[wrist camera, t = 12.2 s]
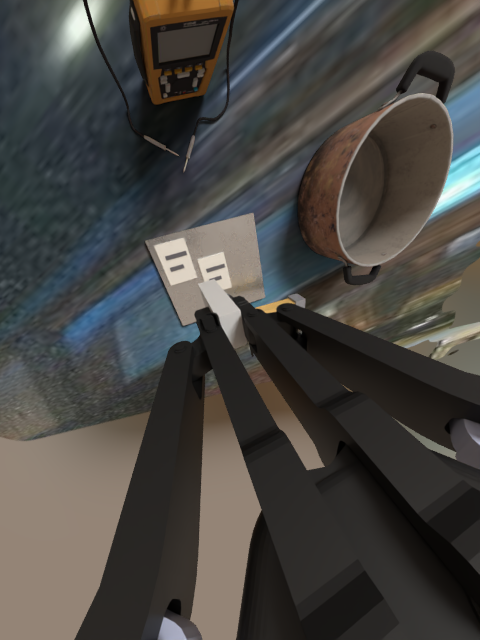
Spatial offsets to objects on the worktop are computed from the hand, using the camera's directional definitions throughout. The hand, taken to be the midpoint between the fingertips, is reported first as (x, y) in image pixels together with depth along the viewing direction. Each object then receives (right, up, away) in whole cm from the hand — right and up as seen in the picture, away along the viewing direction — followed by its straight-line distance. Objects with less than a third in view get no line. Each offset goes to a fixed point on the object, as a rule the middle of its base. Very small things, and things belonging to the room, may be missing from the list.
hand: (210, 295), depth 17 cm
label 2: (-2, +7, +20) cm, 21 cm away
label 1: (-9, +8, +17) cm, 20 cm away
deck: (-2, +7, +20) cm, 21 cm away
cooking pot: (+24, +23, +22) cm, 40 cm away
